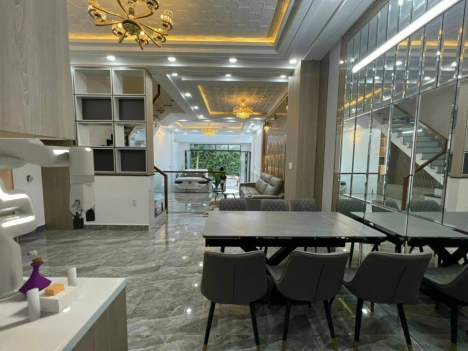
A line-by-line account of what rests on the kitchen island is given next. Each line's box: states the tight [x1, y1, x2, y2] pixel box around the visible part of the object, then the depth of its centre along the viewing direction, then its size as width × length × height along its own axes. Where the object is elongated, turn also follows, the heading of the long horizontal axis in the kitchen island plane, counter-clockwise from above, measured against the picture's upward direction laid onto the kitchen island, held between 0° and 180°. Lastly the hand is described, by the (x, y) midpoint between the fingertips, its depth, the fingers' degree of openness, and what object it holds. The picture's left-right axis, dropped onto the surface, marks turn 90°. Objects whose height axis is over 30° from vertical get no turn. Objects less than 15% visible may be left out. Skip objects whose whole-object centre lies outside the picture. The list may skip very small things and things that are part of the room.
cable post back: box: [66, 266, 78, 287], centre depth 90 cm, size 3×3×10 cm
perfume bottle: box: [18, 249, 53, 297], centre depth 90 cm, size 8×8×18 cm
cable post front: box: [26, 288, 42, 322], centre depth 75 cm, size 3×3×10 cm
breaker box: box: [39, 284, 79, 314], centre depth 83 cm, size 12×8×5 cm, turn 81°
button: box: [45, 282, 65, 296], centre depth 83 cm, size 4×4×4 cm
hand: (85, 224), depth 83 cm, fingers open, 9 cm apart
